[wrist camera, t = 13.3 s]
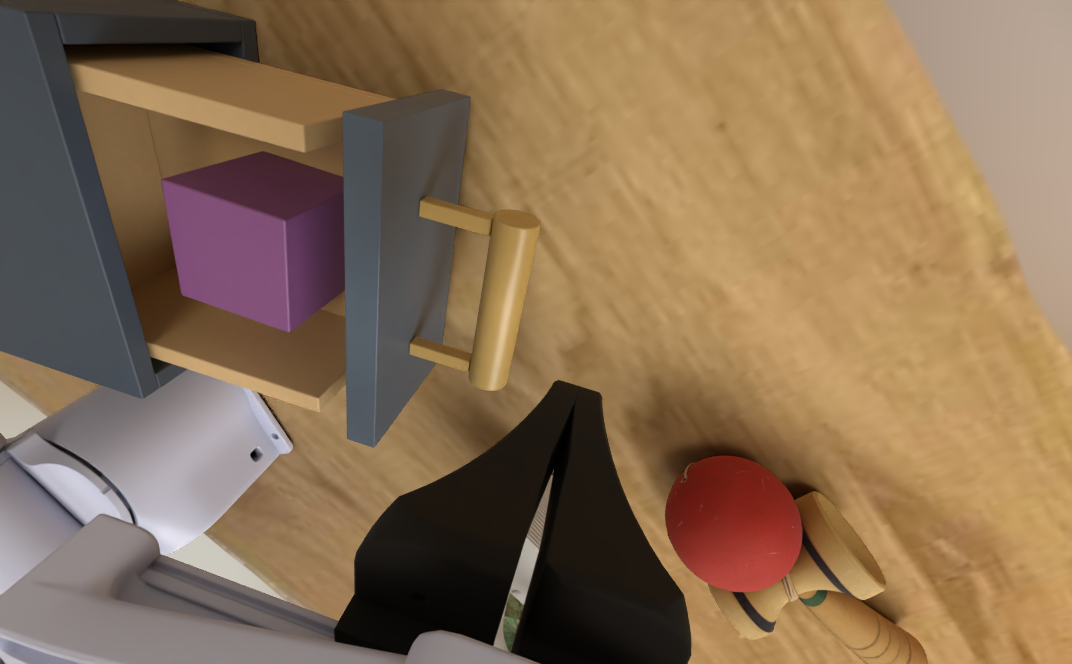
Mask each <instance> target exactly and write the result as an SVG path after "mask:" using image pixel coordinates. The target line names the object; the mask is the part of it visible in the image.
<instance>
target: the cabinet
mask: <svg viewBox="0 0 1072 664" xmlns="http://www.w3.org/2000/svg"><path fill="white" fill-rule="evenodd" d="M143 43H183V44H187V45H191V46H195V47H199V48H203V49H206V50H210V51H214V52H218V53H222V54H225V55H229V56H233V57H237V58H241V59H245V60H248V61H252V62H256V63H259V62H258V52H257V41H256V30H255V21H254V20H251V19H247V18H243V17H239V16H235V15H231V14H227V13H223V12H219V11H215V10H211V9H207V8H203V7H199V6H195V5H191V4H188V3H184V2H180V1H176V0H0V351H2V352H5V353H8V354H11V355H14V356H17V357H20V358H23V359H26V360H29V361H31V362H34V363H37V364H40V365H43V366H46V367H49V368H52V369H55V370H58V371H61V372H64V373H67V374H70V375H73V376H75V377H78V378H81V379H84V380H87V381H90V382H93V383H96V384H99V385H102V386H105V387H108V388H111V389H114V390H116V391H119V392H122V393H125V394H128V395H131V396H134V397H137V398H140V399H144V398H146V397H147V396H149V395H150V394H152V393H153V392H155V391H156V390H158V388H161V387H163V386H164V385H166V384H167V383H168V382H170V381H171V380H173V379H174V378H176V377H177V376H179V375H180V374H182V373H183V372H185V371H186V370H188V369H186V368H183V367H180V366H177V365H174V364H171V363H168V362H165V361H162V360H159V359H156V358H153V357H150V355H149V351H148V348H147V344H146V341H145V337H144V333H143V330H142V326H141V323H140V319H139V315H138V312H137V308H136V305H135V301H134V298H133V294H132V290H131V287H130V283H129V280H128V276H127V273H126V269H125V265H124V262H123V258H122V255H121V251H120V248H119V244H118V240H117V237H116V233H115V230H114V226H113V222H112V219H111V215H110V212H109V208H108V205H107V201H106V197H105V194H104V190H103V187H102V183H101V180H100V176H99V172H98V169H97V165H96V162H95V158H94V155H93V151H92V147H91V144H90V140H89V137H88V133H87V129H86V126H85V122H84V119H83V115H82V112H81V108H80V104H79V101H78V97H77V94H76V90H75V87H74V83H73V79H72V76H71V72H70V69H69V65H68V62H67V58H66V54H65V51H64V47H63V44H143Z"/></svg>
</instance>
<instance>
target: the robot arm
mask: <svg viewBox="0 0 1072 664" xmlns="http://www.w3.org/2000/svg"><path fill="white" fill-rule="evenodd" d="M292 449H293V445H292V443H291V441H290V440H289V438H288V437H287V435H286V434H285V432H284V431H283V429H282V428H281V426H280V425H279V423H278V422H277V420H276V419H275V417H274V416H273V415H272V413H271V412H270V410H269V409H268V407H267V406H266V404H265V403H264V401H263V400H262V398H261V397H260V395H259V394H258V392H255V391H252V390H249V389H246V388H243V387H240V386H237V385H234V384H231V383H228V382H225V381H222V380H219V379H216V378H213V377H210V376H207V375H204V374H201V373H198V372H195V371H192V370H189V369H188V370H186V371H185V372H183V373H182V374H180V375H179V376H177V377H176V378H174V379H173V380H171V381H170V382H168V383H167V384H166V385H164V386H163V387H161V388H158V390H156V391H155V392H153V393H152V394H150V395H149V396H147V397H146V398H144V399H140V398H137V397H134V396H131V395H128V394H125V393H122V392H119V391H116V390H114V389H111V388H108V387H105V386H102V385H100V386H98V387H97V388H95V389H93V390H92V391H90V392H88V393H87V394H85V395H84V396H82V397H80V398H79V399H77V400H75V401H74V402H72V403H70V404H69V405H67V406H65V407H64V408H62V409H60V410H59V411H57V412H55V413H54V414H52V415H51V416H49V417H47V418H46V419H44V420H42V421H41V422H39V423H37V424H36V425H34V426H33V427H31V428H29V429H27V430H26V431H24V432H23V433H21V434H19V435H18V436H16V437H14V438H10V439H5V438H4V436H3V435H2V434H1V433H0V664H687V663H688V661H689V659H690V657H691V632H690V625H689V619H688V612H687V607H686V603H685V598H684V594H683V593H682V591H681V590H680V589H679V587H678V586H677V585H676V583H675V582H674V580H673V579H672V578H671V576H670V575H669V574H668V572H667V571H666V569H665V568H664V567H663V565H662V564H661V562H660V560H659V559H658V557H657V556H656V554H655V552H654V551H653V549H652V547H651V546H650V544H649V542H648V540H647V538H646V537H645V535H644V533H643V531H642V529H641V527H640V525H639V524H638V522H637V520H636V518H635V516H634V514H633V511H632V509H631V507H630V505H629V503H628V500H627V498H626V496H625V493H624V491H623V488H622V486H621V483H620V480H619V477H618V474H617V471H616V468H615V465H614V462H613V458H612V455H611V451H610V447H609V443H608V438H607V434H606V429H605V423H604V417H603V408H602V396H601V394H600V393H599V392H596V391H593V390H589V389H586V388H583V387H580V386H576V385H573V384H570V383H567V382H564V381H560V380H558V381H555V382H554V383H553V385H552V387H551V388H550V390H549V391H548V393H547V394H546V395H545V397H544V398H543V399H542V400H541V402H540V403H539V404H538V405H537V406H536V407H535V408H534V409H533V411H532V412H531V413H530V414H529V415H528V416H527V417H526V418H525V419H524V420H523V421H522V422H521V423H520V424H519V425H518V426H516V427H515V428H514V429H513V430H512V431H511V432H510V433H509V434H508V435H506V436H505V437H504V438H503V439H502V440H500V441H499V442H498V443H497V444H495V445H494V446H493V447H491V448H490V449H489V450H487V451H486V452H484V453H483V454H482V455H480V456H478V457H477V458H475V459H474V460H472V461H471V462H469V463H468V464H466V465H464V466H463V467H461V468H459V469H458V470H456V471H454V472H452V473H450V474H448V475H446V476H444V477H442V478H441V479H439V480H437V481H435V482H433V483H430V484H428V485H426V486H424V487H421V488H419V489H416V490H414V491H412V492H409V493H407V494H404V495H402V496H399V497H398V498H397V499H396V500H395V501H394V502H393V503H392V504H391V505H390V506H389V507H388V508H387V509H386V511H385V512H384V513H383V514H382V515H381V516H380V518H379V519H378V520H377V521H376V523H375V524H374V525H373V526H372V528H371V529H370V531H369V532H368V534H367V536H366V537H365V539H364V540H363V542H362V544H361V545H360V547H359V549H358V550H357V552H356V556H355V560H354V576H355V594H354V596H353V597H352V599H351V601H350V603H349V604H348V606H347V608H346V610H345V611H344V613H343V615H342V616H341V618H340V620H339V621H337V620H334V619H331V618H329V617H326V616H324V615H321V614H318V613H316V612H313V611H310V610H308V609H305V608H302V607H300V606H297V605H294V604H292V603H289V602H286V601H284V600H281V599H278V598H276V597H273V596H270V595H268V594H265V593H262V592H260V591H257V590H254V589H252V588H249V587H246V586H244V585H241V584H238V583H236V582H233V581H231V580H228V579H225V578H223V577H220V576H217V575H215V574H212V573H209V572H207V571H204V570H201V569H199V568H196V567H193V566H190V565H188V564H185V563H183V562H180V561H177V560H175V559H172V558H169V557H167V556H166V555H168V554H170V553H172V552H175V551H177V550H178V549H180V548H182V547H183V546H185V545H187V544H188V543H190V542H191V541H193V540H194V539H195V538H197V537H198V536H199V535H201V534H202V533H203V532H205V531H206V530H207V529H208V528H210V527H211V526H212V525H213V524H214V523H215V522H216V521H217V520H218V519H219V518H220V517H221V516H222V515H223V514H224V513H225V512H226V511H227V510H228V509H229V508H230V507H231V506H232V505H233V503H234V502H235V501H236V500H237V499H238V498H239V497H240V496H241V495H242V494H243V493H244V492H245V491H246V490H247V489H248V488H249V487H250V485H251V484H252V483H253V482H254V481H255V480H256V479H257V478H258V477H259V476H260V475H261V474H262V473H263V472H264V471H265V470H266V469H267V468H268V466H269V465H270V464H271V463H272V462H273V461H274V460H275V459H276V458H277V457H278V456H279V455H280V454H285V453H289V452H290V451H291V450H292ZM553 470H554V472H553ZM552 472H553V478H552V483H551V489H550V495H549V500H548V506H547V512H546V517H545V523H544V528H543V534H542V539H541V543H540V548H539V552H538V556H537V559H536V563H535V567H534V570H533V574H532V577H531V581H530V585H529V588H528V592H527V595H526V599H525V603H524V606H523V610H522V613H521V617H520V620H519V624H518V628H517V631H516V635H515V638H514V642H513V645H512V649H511V653H510V652H507V651H505V650H502V649H499V648H497V647H494V646H493V645H494V642H495V639H496V635H497V632H498V629H499V625H500V622H501V619H502V615H503V612H504V609H505V605H506V602H507V599H508V595H509V592H510V589H511V585H512V582H513V579H514V576H515V572H516V569H517V566H518V562H519V559H520V556H521V552H522V549H523V546H524V543H525V540H526V537H527V534H528V532H529V529H530V527H531V524H532V522H533V519H534V517H535V514H536V512H537V509H538V507H539V504H540V502H541V499H542V497H543V494H544V492H545V490H546V487H547V485H548V482H549V480H550V477H551V475H552Z"/></svg>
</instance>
